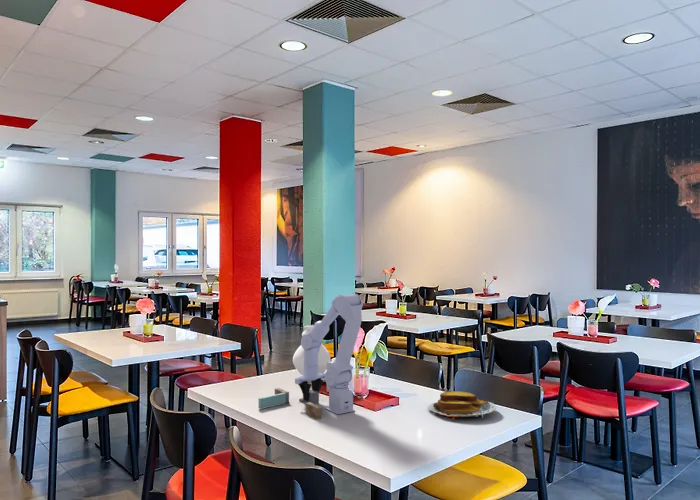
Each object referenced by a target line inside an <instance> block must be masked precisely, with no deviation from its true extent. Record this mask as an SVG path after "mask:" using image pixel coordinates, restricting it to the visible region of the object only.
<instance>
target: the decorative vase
mask: <svg viewBox="0 0 700 500" xmlns="http://www.w3.org/2000/svg"><path fill="white" fill-rule="evenodd" d="M314 325H315V324H308V325H304V326H303V329H305V330H303V331H302V333H301V337H302V336H303V335H307V334H308V333H309V331H310V330H311V329H312V328H313V327H314ZM331 358H332V357H331V354H330V352H329V351H328V349H327V348H326V346H325V345H324V344H323V343H321V346H320V348H319V352H318V374H319V373H326V371H327V362H332V360H331ZM292 364H293V366H294V368H295V369H296V370H297V371H298V373H299V374H300V376H299V377H301V376H303V375H304V349H303V348H302V346H301V344H300V345H299V346H298V347H297V349H296V350H295V352H294V353H293V356H292ZM321 380H323V381H325V379H321ZM308 383H311V381H309V382H308Z"/></svg>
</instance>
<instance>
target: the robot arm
mask: <svg viewBox="0 0 700 500" xmlns="http://www.w3.org/2000/svg"><path fill="white" fill-rule="evenodd" d="M363 305H364V301H363V300H362V298H361V296H360V295H359V294H358V293H352V294H350V293H349V294H338V295H336V296H335V298H334V299H332V300H331V305H330V308H329V309H328V310H327V312H326V313H325V315H324V316H323V317H322V319H321V320H318V321H315V322H314V324H313V325H314V327H313V328H312V329H311V330H310V331H309V333H308V334H307V335H303V336H302V335H301V338H300V345H301V346H302V348H303V349H304V375H303V376H302V375H300V376H301V377H300V376H299V377H296V378H294V384H297V385H298V387H299V388H300V390H301V393H302V398H303V397H304V400H306V401H309V391H310V390H314V391H318V392H319V393H320V391H321V388H322V386H323V384H324V381H325V383H326V386H327V385H328V387H329V393H328V406H325V407H324V409H325V410H327V411H329V412H332V413H334V414H336V415H341V414H348V413H352V412H355V411H356V410H355V408H354V394H353V391H352V390H351V389H350V390H349V388H348V385H349V382H350V383H351V381H352V379H353V370H354V368H353V365H352V364H351V359H352V357H353V353H354V348H355V345H356V341H357V339H358V335H359V332H360V328H361V325H362V321H363V319H362V317H363V316H362V309H363ZM339 315H340V317H341V318H342V319H343V320H344V321H345V324H344V327H343V331H342V335H341V338H340V342H339V345H338V348H337V352H336V356H335V359H334V360H333V361H334V362H333V363H332V364H331V365H330V366H329V369H328V371H327V370H326V371H325V372H324V373H319V374H318V352H319V348H320V346H321V343H322V341H323V339H324V338H325V336H326V335H327V334H328V333H329V331H330V325H331V324H332V323H333V322H334V321H335V320H336V319H337V317H338V316H339ZM322 344H323V343H322ZM321 379H325V380H321ZM309 381H311V382H309Z"/></svg>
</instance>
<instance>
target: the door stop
mask: <svg viewBox="0 0 700 500" xmlns="http://www.w3.org/2000/svg"><path fill="white" fill-rule="evenodd" d="M319 401H320V391H319V392H318V391H314V390H313V389H310V391H309V401H306V400H304V397H303V396H302V397H301V398H299V399H298V402H300V403H303V404H306V403H309V402H311V403H313V404H316V405H317V404H319V403H320V402H319Z"/></svg>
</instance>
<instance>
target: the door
mask: <svg viewBox="0 0 700 500" xmlns="http://www.w3.org/2000/svg"><path fill="white" fill-rule="evenodd" d="M289 403H290V391H287V392H285V393H281V394H276V395H275V394H272V395H267V396H262V397H258V409H259V410H262V409H266V408H269V407H274V406H278V405H279V406H280V405H284V404H289Z"/></svg>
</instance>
